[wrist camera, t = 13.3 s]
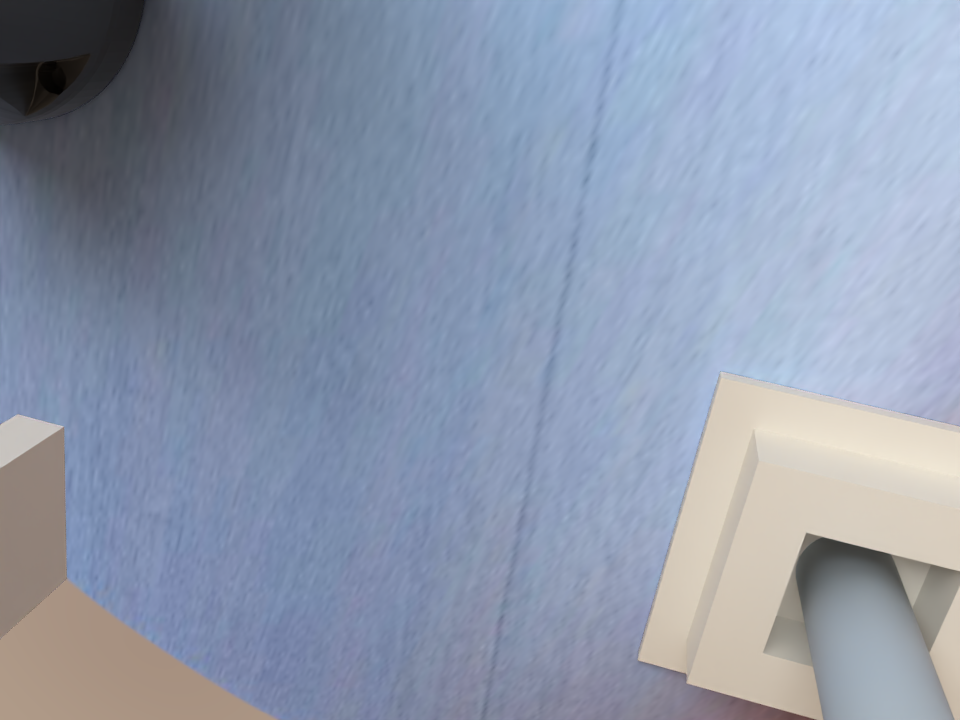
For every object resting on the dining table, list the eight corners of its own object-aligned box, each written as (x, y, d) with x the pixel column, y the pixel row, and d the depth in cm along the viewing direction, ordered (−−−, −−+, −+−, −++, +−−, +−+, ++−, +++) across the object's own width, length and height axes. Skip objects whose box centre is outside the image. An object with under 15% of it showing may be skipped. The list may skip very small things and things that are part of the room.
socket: (638, 650, 46) (634, 704, 43) (720, 371, 40) (723, 406, 37) (958, 738, 44) (982, 803, 41) (1095, 457, 38) (1139, 504, 35)
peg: (783, 599, 43) (833, 900, 28) (811, 521, 41) (880, 799, 26) (878, 624, 42) (978, 945, 28) (910, 546, 41) (1036, 844, 26)
